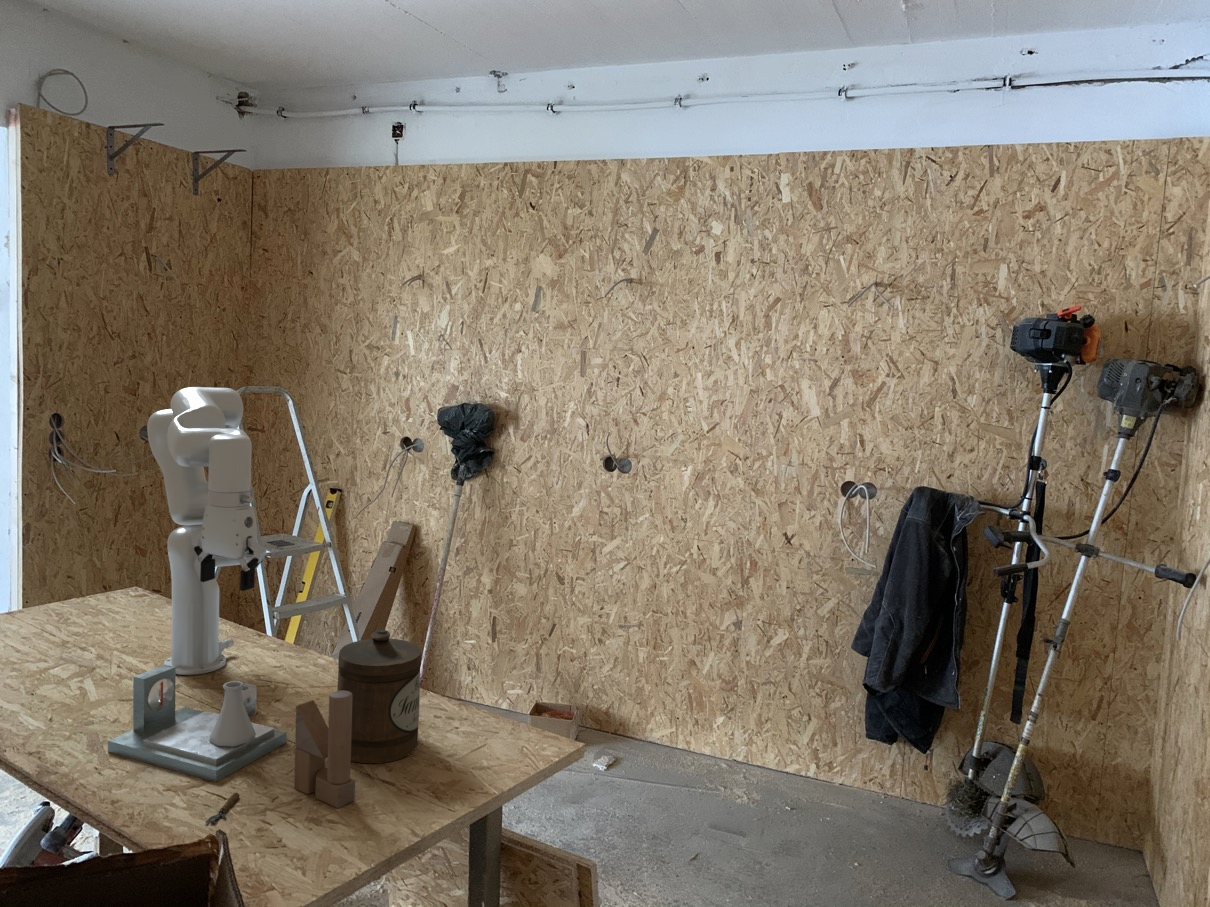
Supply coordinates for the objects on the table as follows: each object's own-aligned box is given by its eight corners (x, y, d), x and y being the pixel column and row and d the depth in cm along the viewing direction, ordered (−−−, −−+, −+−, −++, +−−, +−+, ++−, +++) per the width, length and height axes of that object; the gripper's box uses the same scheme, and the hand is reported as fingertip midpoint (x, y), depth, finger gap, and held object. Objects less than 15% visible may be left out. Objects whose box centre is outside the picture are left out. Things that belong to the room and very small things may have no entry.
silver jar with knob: (222, 715, 173) (223, 690, 173) (241, 706, 178) (241, 681, 178) (243, 720, 172) (243, 694, 171) (261, 710, 176) (262, 686, 176)
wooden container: (415, 763, 158) (420, 643, 156) (329, 765, 156) (332, 643, 153) (419, 728, 173) (423, 618, 170) (340, 729, 170) (343, 617, 168)
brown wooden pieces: (311, 780, 150) (313, 677, 148) (355, 800, 144) (358, 693, 142) (292, 788, 147) (295, 683, 145) (337, 809, 141) (340, 700, 139)
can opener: (233, 798, 143) (233, 791, 143) (247, 800, 143) (247, 793, 143) (200, 827, 134) (200, 820, 134) (215, 829, 134) (215, 822, 134)
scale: (184, 716, 171) (185, 656, 170) (286, 742, 163) (287, 679, 162) (107, 751, 156) (107, 685, 154) (216, 782, 147) (217, 712, 146)
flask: (234, 751, 152) (235, 694, 151) (200, 743, 154) (201, 687, 153) (263, 735, 159) (264, 681, 158) (230, 727, 161) (231, 674, 160)
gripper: (279, 502, 172) (276, 587, 175) (208, 489, 178) (207, 572, 180) (251, 508, 165) (248, 597, 168) (178, 495, 171) (177, 581, 173)
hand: (227, 584), depth 174 cm, fingers open, 9 cm apart
